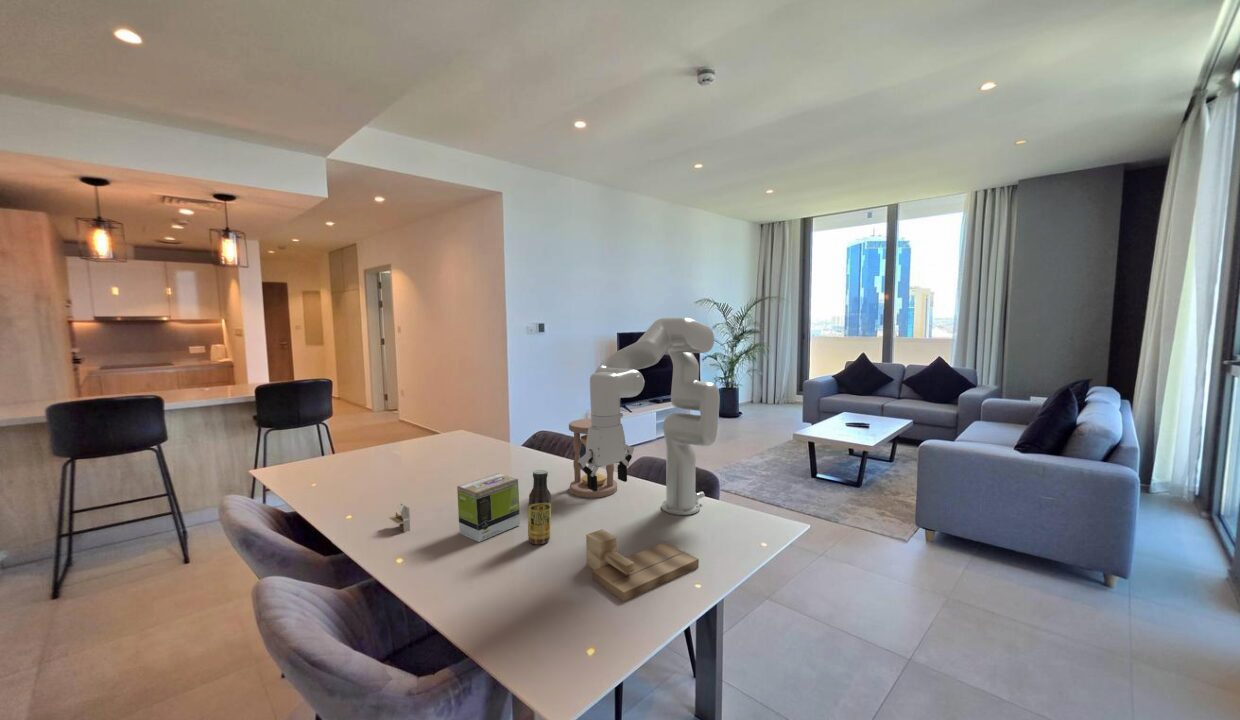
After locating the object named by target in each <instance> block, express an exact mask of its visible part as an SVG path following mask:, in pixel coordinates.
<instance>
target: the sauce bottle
mask: <svg viewBox="0 0 1240 720" xmlns="http://www.w3.org/2000/svg"><path fill="white" fill-rule="evenodd" d="M548 474H549V473H548V471H547V470H545V469H537V470H533V473H532V477H533V485H532V489H531V491H530V493H529V496H528V509H527V510H528V518H527V519H528V520H527V521H528V522H527V528H528V529H527V536H528V542H529V543H530V544H533V545H535V546H536V545H543V544H546V543H547V544H548V542H549V541H550V539H551V524H552V523H551V520H552V516H551V513H552V498H551V497H552V496H551V492H550V490H549V489H548V476H549V475H548Z"/></svg>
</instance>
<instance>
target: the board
mask: <svg viewBox="0 0 1240 720" xmlns="http://www.w3.org/2000/svg"><path fill="white" fill-rule="evenodd" d="M625 558H627V559H629V560H630V561H632V562H634V571H633V572H630V573H629V575H626V574H625V573H623V572H622V571H620V570H619V569H617V568H616V567H614V566H612V565H611V564H608V565H606V566H603V567H601V568H598V569H596V570H593V569H592V580H593V581H595V582H596V583H597V584H599V585H601V586H602V587H603V588H604V589H606V590H607V591H609V592H611V593H612V594H613V595H615V597H617V598H618V599H620V600H621V601H623V602H625V601H628V600H630V599H631V598H634V597H636V596H638V595H641V594H643V593H645V592H647V591H649V590H652V589H653V588H655V587H658V586H660V585H662V584H665V583H666V582H668V581H671V580H673V579H675V578H677V577H679V576H682V575H684V574H686V573H688V572H690V571H693V570H695V569H697V568H699V567H700V565H699V563H700V561H699V560H700V559H699V558H697V557H696V556H694V555H691V553H687V552H686V551H685V550H682V549H680V548H678V547H676V546H674V545H672V544H671V543H670V544H669V543H668V542H666V541H665V542H662V543H660V544H657V545H655V546H652V547H650V548H648V549H645V550H644V549H643V550H642V551H640V552H637V553H634V554H631V555H630V556H627V557H625Z"/></svg>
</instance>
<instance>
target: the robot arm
mask: <svg viewBox="0 0 1240 720" xmlns="http://www.w3.org/2000/svg"><path fill="white" fill-rule="evenodd" d="M714 344H715V336H714V332H713V330H712V329H711V328H710V327H709V326H708V325H706V324H704V323H701V322H700V321H697V320H695V319H692V318H689V317H662V318H658V319H657V320H655V321H654V322H653V323H651V325H650V326H649V327H648V329H646V331H645V332H644V333H643V335H641V336H640V338H638V340H637V341H636V342H634V343H631V344H630V345H628V346H625V347H623V348H622V349H619V350H617V351H615V352H613V353H612V354H609V356H607V357H606V358H605V359H604V360H603V361H602V363H600V365H599V366H598V367H597V368H596V370H595V371H594V373H592V374H591V375H590V377H589V393H590V397H589V399H590V419H591V426H590V427H589V428H588V433H587V434H586V435H587V442H586V447H585V454H584V455H583V456H580V459H579V460H578V464H579V466H580V467H581V472H583V473H585V475H587V484H588V488H589V489H590V490H592V491H597V476H595V474H596V473H598V470H599V469H600V468H602V467H606V466H607V465H611V464H614V465H615V464H617V463H618V464H617V468H616V469H617V479H618V480H619V481H622V482H624V483H625V482H626V483H627V481H628V467H629V466H630V462H631V460H632V458H633V453H634V451H635V447H633V446H631V445H628V444H626V437H625V436H626V435H625V429H624V427H623V424H622V423H621V419H623V417H624V414H623V412H621V398H622V399H624V398H633V397H637V396H638V395H640V394H641V392H642V391H643V389H644V387H645V379H644V376H643V374H642V372H640V371H639V370H641V369H642V370H643V369H646V368H649V367H651V366H654V365H657V364H658V363H659V361H660V360H661V359H662V358H663V357H664V355H665V354H666V353H668V355H669V357H670V359H671V362H672V366H673V367H672V377H671V378H672V380H671V391H670V402H671V404H672V406H673V407H674V408H677V409H681V410H688V411H695V412H697V411H698V412H699V414H700V415H698V414H691V413H684V412H674V413H670V414H669V415H667V416H666V417H665V419H664V420H663V423H662V424H663V425H662V431H663V435H664V441H665V451H666V453H665V454H666V455H665V456H666V457H665V458H666V463H665V464H666V468H665V469H666V470H665V471H666V473H665V475H666V480H665V482H666V483H665V484H666V485H665V487H666V488H665V489H666V491H665V492H666V493H665V494H666V498H665V500H663V501H662V502H661V509H662V510H663V511H664V512H666V513H669V514H671V515H676V516H689V515H693V514H696V513H698V512H699V511H700V510H701V504H700V503H699V502H698V501H699V499H703V498H704V497H705V496H706V494H705V493H704V491H699V492H696V463H697V462H696V454H695V450H694V448H693V446H692V445H694V446H700V447H710V446H712V445H713V444H714V443H715V441H716V439H717V436H718V435H717V434H718V428H719V427H718V425H719V413H720V403H721V402H720V400H721V399H720V398H721V396H720V392H719V388H718V387H717V385H716V384H715V383H713V382H710V381H700V380H699V378H700V377H699V375H700V365H699V361H698V360H697V358H696V357H695V355H694V354H706V353H708V352H710V351H711V350H712V349H713V347H714Z"/></svg>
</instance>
